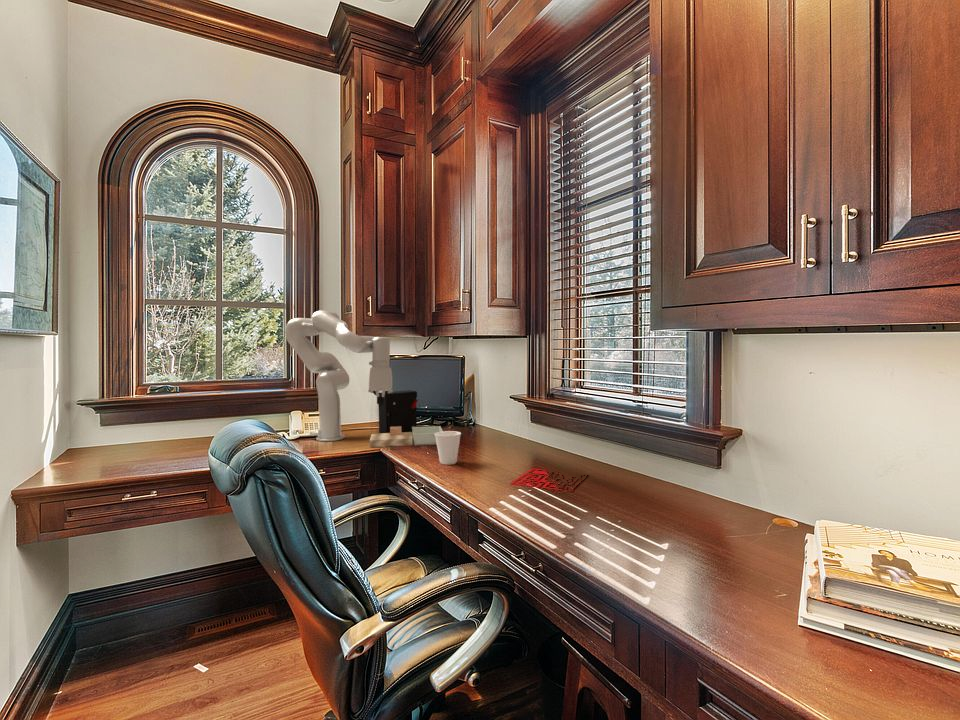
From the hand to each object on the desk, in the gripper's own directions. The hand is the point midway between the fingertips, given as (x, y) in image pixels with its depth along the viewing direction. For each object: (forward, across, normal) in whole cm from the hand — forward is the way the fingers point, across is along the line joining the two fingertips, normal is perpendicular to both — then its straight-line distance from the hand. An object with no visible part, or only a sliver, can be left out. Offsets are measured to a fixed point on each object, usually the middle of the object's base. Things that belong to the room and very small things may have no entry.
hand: (380, 405), depth 226 cm
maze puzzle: (+13, +56, -74) cm, 94 cm away
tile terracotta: (+13, +7, 0) cm, 15 cm away
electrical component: (+17, +8, +21) cm, 28 cm away
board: (+16, +5, -4) cm, 17 cm away
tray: (+15, +21, -4) cm, 27 cm away
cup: (+15, +26, -45) cm, 54 cm away
